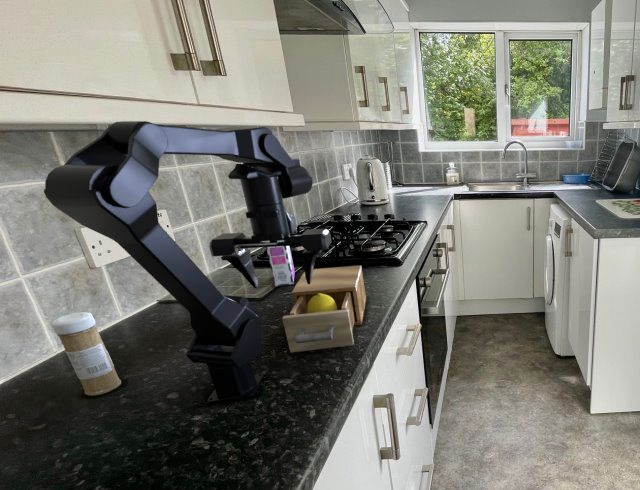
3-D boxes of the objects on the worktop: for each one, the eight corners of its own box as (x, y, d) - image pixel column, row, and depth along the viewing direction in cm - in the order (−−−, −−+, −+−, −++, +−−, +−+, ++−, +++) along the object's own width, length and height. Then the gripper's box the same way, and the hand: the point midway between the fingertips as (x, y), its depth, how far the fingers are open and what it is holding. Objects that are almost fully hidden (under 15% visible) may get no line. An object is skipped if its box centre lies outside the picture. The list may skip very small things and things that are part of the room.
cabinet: (361, 324, 90) (355, 286, 87) (299, 331, 87) (291, 292, 84) (366, 299, 103) (361, 265, 100) (312, 304, 101) (305, 269, 97)
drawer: (351, 356, 76) (344, 322, 74) (284, 365, 74) (275, 329, 71) (359, 316, 92) (354, 286, 90) (304, 321, 90) (298, 291, 87)
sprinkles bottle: (122, 377, 72) (92, 308, 67) (121, 389, 68) (89, 318, 63) (86, 387, 69) (52, 316, 64) (83, 400, 66) (47, 326, 61)
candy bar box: (295, 284, 113) (282, 226, 107) (274, 287, 111) (260, 228, 105) (296, 272, 122) (284, 218, 116) (277, 274, 120) (264, 219, 114)
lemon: (330, 336, 81) (323, 299, 78) (305, 333, 82) (297, 297, 79) (345, 324, 86) (339, 289, 83) (322, 321, 87) (315, 287, 84)
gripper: (329, 194, 81) (341, 268, 87) (224, 197, 77) (244, 275, 83) (318, 204, 71) (332, 287, 77) (196, 208, 67) (221, 296, 73)
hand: (283, 285), depth 78 cm, fingers open, 9 cm apart
